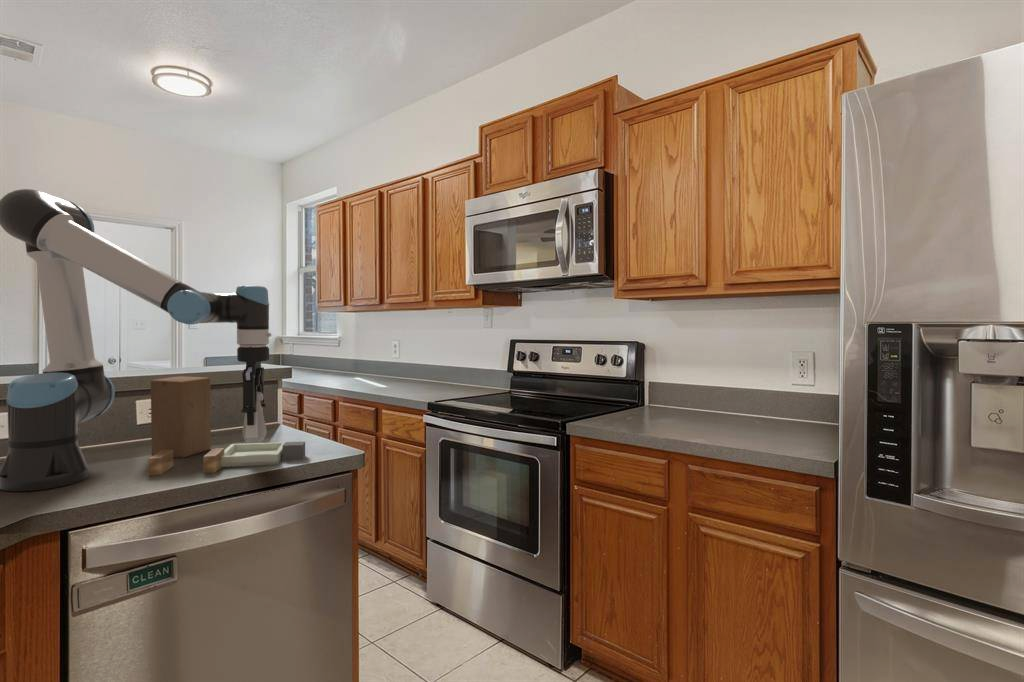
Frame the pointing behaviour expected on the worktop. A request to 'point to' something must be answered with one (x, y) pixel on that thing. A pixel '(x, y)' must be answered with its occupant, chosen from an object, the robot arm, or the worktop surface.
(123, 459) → the worktop surface
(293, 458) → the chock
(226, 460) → the tray
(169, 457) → the wooden blocks
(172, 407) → the wooden block
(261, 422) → the salt shaker
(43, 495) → the worktop surface
